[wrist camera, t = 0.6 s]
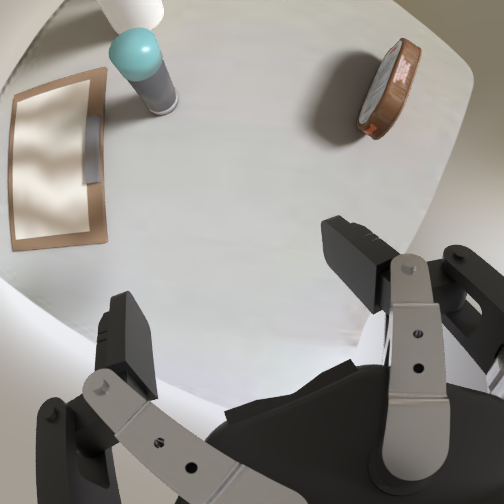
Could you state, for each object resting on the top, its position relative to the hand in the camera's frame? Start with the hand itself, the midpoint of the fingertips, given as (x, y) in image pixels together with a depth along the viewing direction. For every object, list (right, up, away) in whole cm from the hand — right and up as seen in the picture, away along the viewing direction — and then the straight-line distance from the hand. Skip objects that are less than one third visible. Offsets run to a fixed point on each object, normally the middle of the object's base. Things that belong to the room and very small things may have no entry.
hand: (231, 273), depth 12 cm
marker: (-10, +18, +20) cm, 28 cm away
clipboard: (-24, +12, +19) cm, 33 cm away
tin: (+17, +21, +22) cm, 35 cm away
